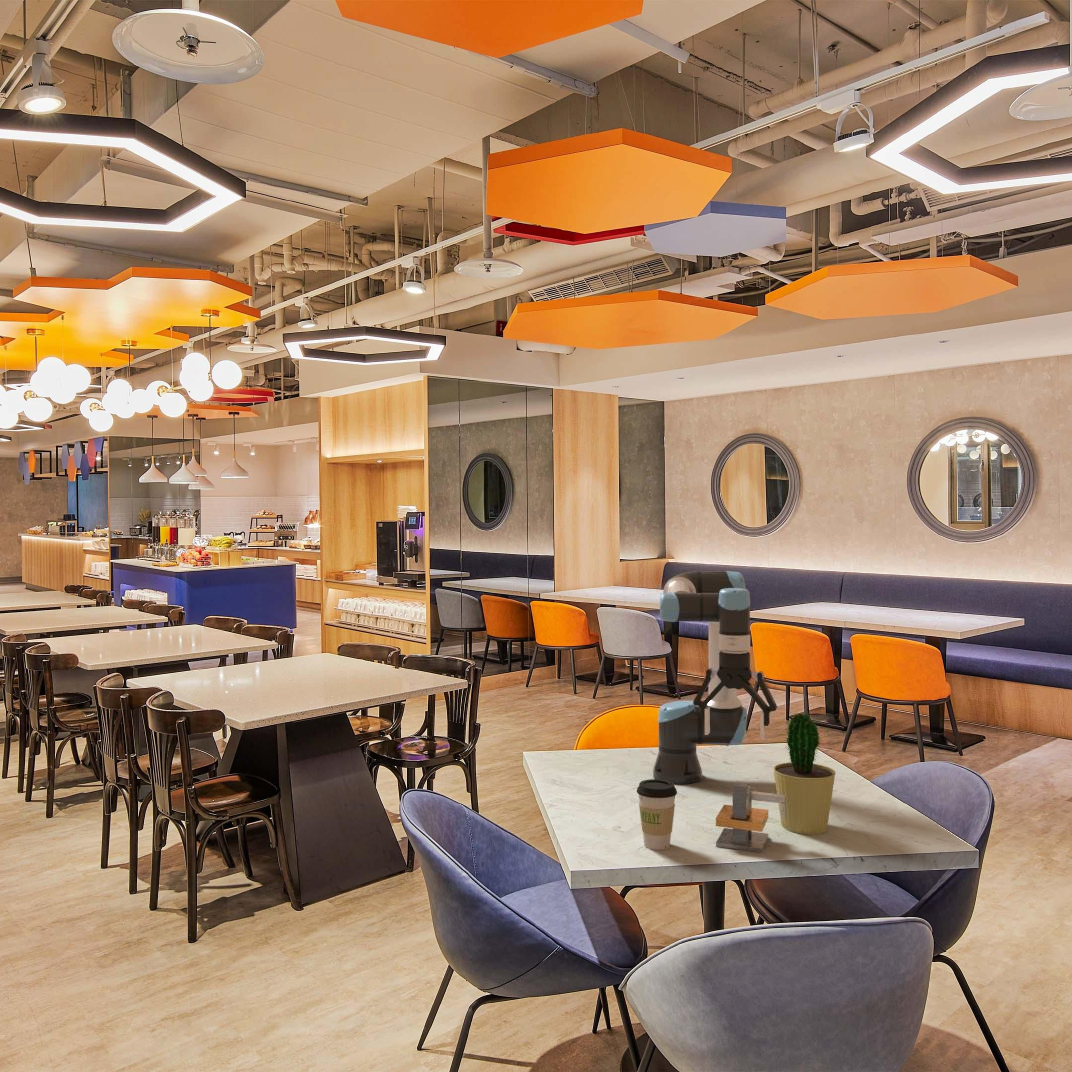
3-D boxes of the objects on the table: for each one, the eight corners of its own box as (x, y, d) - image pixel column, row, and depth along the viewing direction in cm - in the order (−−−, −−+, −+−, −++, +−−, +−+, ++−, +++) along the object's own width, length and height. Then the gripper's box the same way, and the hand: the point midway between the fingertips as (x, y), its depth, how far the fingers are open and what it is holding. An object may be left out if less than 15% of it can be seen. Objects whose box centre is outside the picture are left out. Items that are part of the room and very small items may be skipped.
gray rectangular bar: (735, 838, 213) (734, 782, 213) (748, 840, 211) (748, 783, 211) (732, 843, 210) (732, 785, 210) (746, 844, 209) (745, 787, 208)
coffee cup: (633, 838, 216) (632, 778, 216) (671, 837, 217) (671, 777, 217) (641, 853, 206) (641, 790, 206) (681, 852, 207) (681, 789, 207)
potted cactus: (827, 841, 213) (827, 720, 213) (765, 830, 221) (765, 713, 221) (841, 823, 226) (841, 709, 226) (783, 813, 234) (782, 703, 234)
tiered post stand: (715, 846, 210) (715, 793, 210) (724, 831, 220) (724, 781, 220) (781, 855, 204) (781, 800, 204) (787, 840, 214) (786, 787, 214)
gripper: (681, 650, 215) (681, 735, 216) (784, 656, 206) (784, 744, 206) (687, 646, 222) (688, 728, 223) (788, 651, 213) (788, 737, 213)
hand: (734, 736), depth 215 cm, fingers open, 13 cm apart
